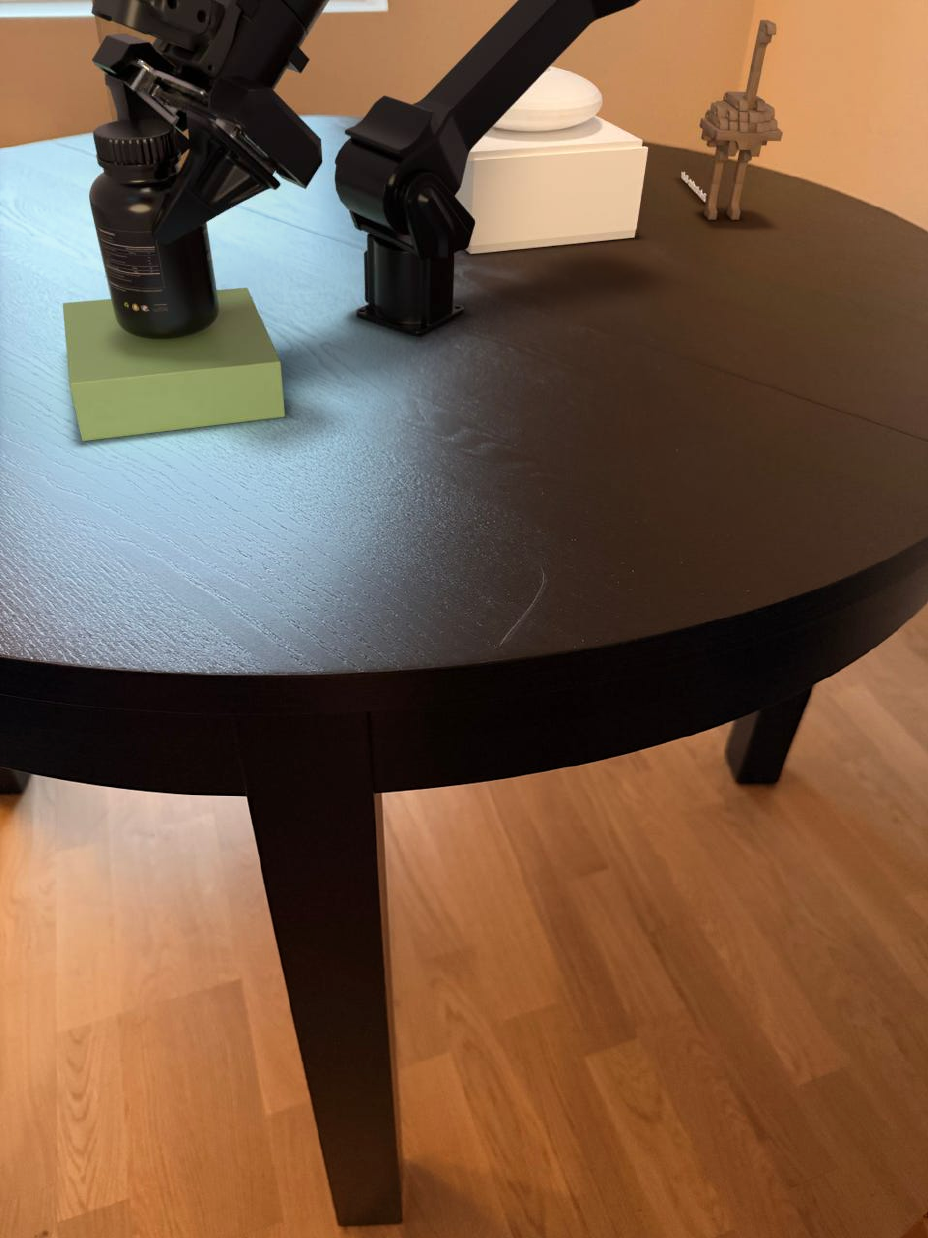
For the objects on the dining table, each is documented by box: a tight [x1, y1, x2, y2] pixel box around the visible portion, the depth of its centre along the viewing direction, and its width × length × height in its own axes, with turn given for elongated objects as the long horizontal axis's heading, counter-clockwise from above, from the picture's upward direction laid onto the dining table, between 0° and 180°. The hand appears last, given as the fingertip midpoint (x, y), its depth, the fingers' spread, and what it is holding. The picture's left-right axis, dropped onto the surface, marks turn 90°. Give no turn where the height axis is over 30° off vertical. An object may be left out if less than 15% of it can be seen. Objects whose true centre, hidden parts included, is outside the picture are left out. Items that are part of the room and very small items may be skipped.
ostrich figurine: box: [680, 19, 784, 221], centre depth 102 cm, size 17×7×18 cm, turn 7°
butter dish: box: [455, 65, 649, 255], centre depth 96 cm, size 18×18×16 cm
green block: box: [62, 287, 286, 442], centre depth 69 cm, size 13×13×4 cm
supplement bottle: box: [88, 119, 219, 339], centre depth 63 cm, size 7×7×12 cm
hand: (131, 224), depth 62 cm, fingers closed on supplement bottle, 7 cm apart
